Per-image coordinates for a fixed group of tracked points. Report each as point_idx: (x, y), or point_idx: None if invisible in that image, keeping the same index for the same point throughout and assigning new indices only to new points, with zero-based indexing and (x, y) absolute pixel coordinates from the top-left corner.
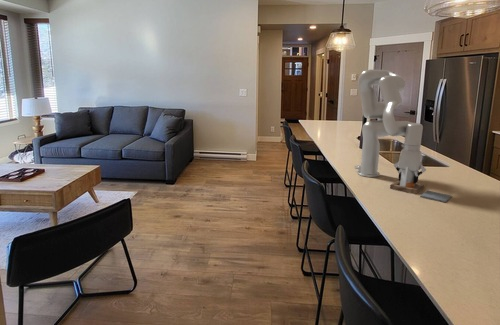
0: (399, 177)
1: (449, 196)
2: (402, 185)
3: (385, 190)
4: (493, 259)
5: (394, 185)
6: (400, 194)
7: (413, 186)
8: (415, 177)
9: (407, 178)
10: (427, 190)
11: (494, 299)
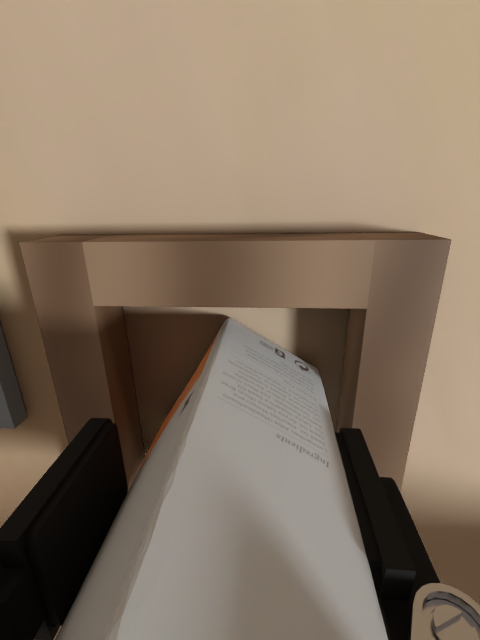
0: (373, 471)
1: None
2: (273, 360)
3: (462, 55)
4: None
5: (373, 248)
6: (183, 32)
7: (158, 431)
8: (15, 519)
9: (174, 437)
10: (10, 422)
11: None
